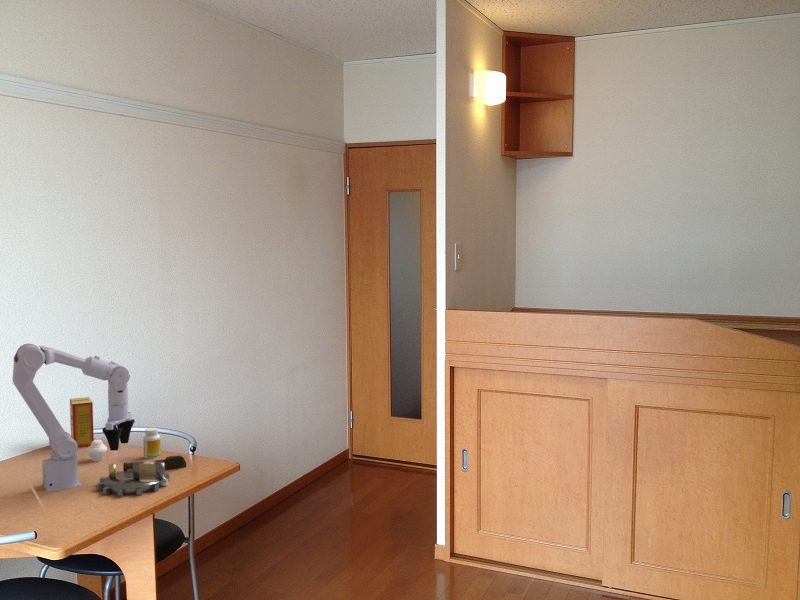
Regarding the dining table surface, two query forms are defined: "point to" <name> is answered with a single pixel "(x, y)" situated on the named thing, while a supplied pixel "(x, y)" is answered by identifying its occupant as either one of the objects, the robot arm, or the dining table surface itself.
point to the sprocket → (128, 483)
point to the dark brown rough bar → (170, 463)
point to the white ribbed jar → (97, 450)
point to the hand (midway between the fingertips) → (119, 446)
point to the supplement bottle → (152, 443)
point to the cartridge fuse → (149, 470)
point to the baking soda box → (82, 421)
